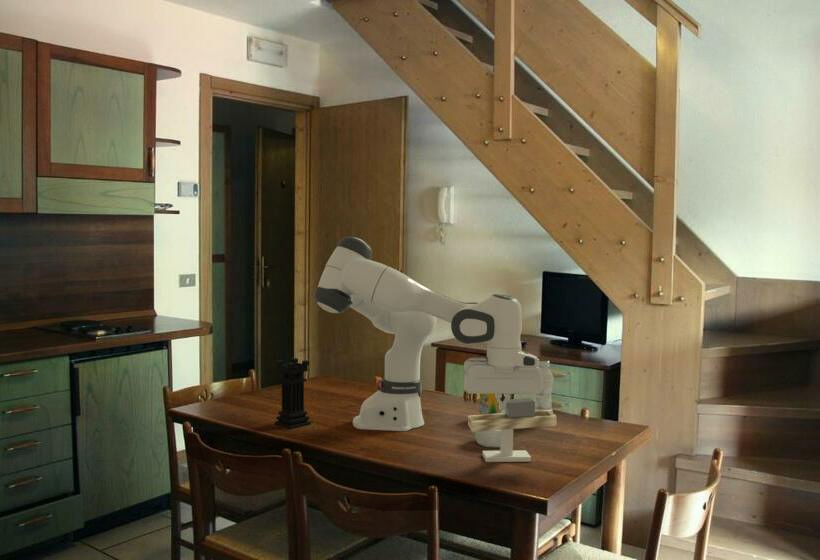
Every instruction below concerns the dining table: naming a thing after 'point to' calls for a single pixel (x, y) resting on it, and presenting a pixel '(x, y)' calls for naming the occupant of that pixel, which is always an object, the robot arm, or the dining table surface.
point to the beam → (510, 421)
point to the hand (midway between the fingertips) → (502, 410)
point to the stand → (506, 450)
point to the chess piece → (292, 394)
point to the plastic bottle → (544, 388)
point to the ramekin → (488, 438)
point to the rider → (520, 408)
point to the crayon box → (488, 404)
